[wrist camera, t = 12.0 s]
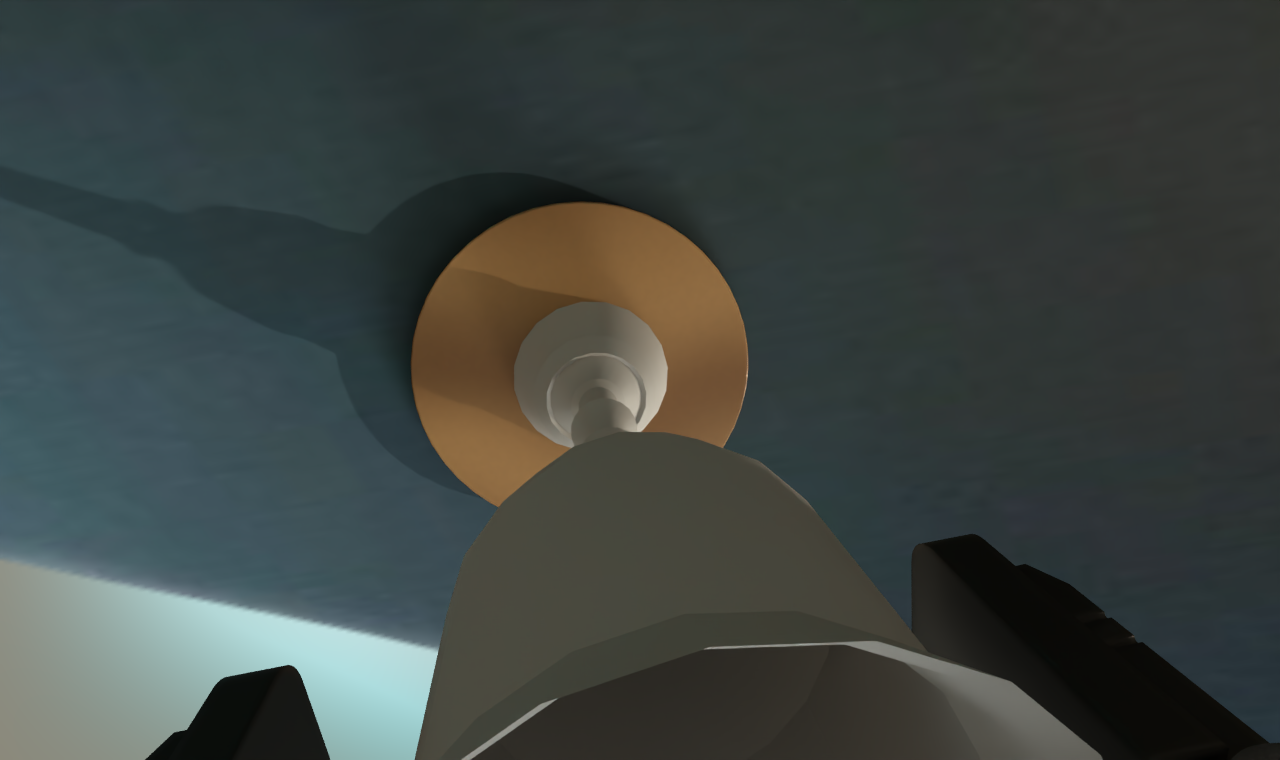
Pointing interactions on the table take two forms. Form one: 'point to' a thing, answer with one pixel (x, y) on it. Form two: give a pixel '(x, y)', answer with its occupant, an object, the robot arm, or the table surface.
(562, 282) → the coaster
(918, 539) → the table surface
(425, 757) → the chalice
